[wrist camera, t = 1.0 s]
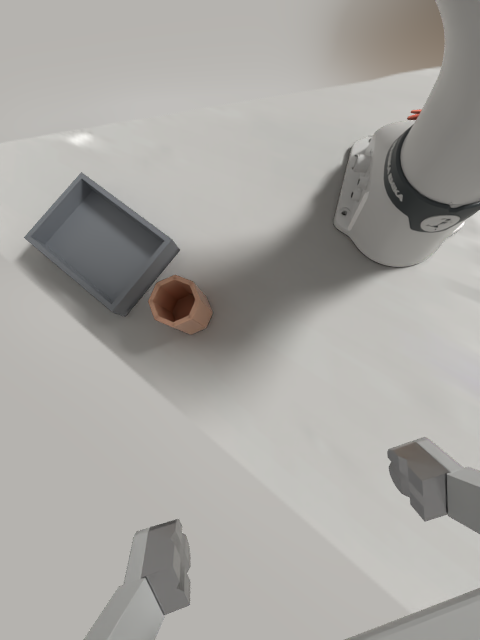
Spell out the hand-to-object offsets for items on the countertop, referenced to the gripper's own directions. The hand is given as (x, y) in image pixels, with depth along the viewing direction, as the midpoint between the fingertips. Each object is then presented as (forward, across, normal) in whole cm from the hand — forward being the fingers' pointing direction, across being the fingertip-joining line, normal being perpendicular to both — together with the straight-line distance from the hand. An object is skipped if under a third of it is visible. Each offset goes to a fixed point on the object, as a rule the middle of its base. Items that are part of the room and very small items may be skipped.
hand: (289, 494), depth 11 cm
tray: (+44, +15, -12) cm, 48 cm away
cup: (+36, +4, +1) cm, 36 cm away
